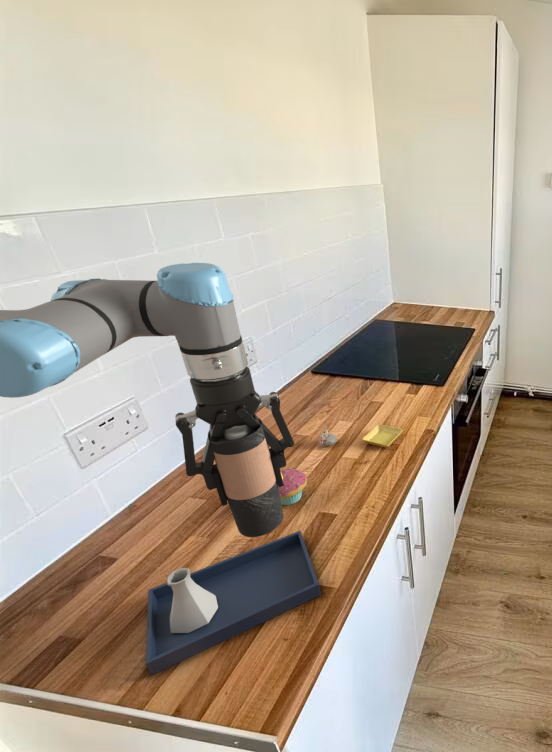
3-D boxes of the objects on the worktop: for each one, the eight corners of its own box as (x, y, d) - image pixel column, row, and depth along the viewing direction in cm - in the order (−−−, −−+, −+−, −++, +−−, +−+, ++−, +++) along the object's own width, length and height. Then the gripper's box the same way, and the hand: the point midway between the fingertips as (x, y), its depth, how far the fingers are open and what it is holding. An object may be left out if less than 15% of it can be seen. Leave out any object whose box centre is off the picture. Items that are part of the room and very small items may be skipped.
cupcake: (295, 513, 98) (286, 472, 93) (261, 508, 99) (250, 466, 94) (316, 488, 106) (309, 448, 101) (285, 483, 107) (275, 443, 102)
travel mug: (286, 502, 81) (265, 411, 72) (283, 532, 75) (260, 437, 66) (240, 511, 78) (212, 418, 70) (232, 543, 72) (201, 446, 63)
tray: (151, 675, 67) (145, 664, 66) (153, 600, 78) (148, 589, 77) (321, 594, 81) (318, 584, 80) (302, 540, 92) (300, 530, 91)
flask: (176, 602, 78) (159, 563, 73) (222, 591, 80) (209, 553, 76) (163, 640, 72) (143, 601, 67) (213, 627, 74) (198, 588, 70)
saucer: (361, 445, 123) (360, 439, 122) (378, 429, 130) (378, 423, 129) (388, 451, 120) (387, 445, 120) (404, 435, 128) (403, 429, 127)
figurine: (340, 443, 123) (338, 425, 120) (328, 451, 119) (325, 433, 117) (326, 437, 125) (323, 420, 122) (314, 446, 121) (311, 428, 118)
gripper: (127, 400, 55) (179, 530, 65) (300, 366, 66) (321, 481, 76) (131, 377, 61) (178, 500, 71) (290, 349, 72) (311, 459, 82)
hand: (252, 490), depth 73 cm, fingers closed on travel mug, 8 cm apart
